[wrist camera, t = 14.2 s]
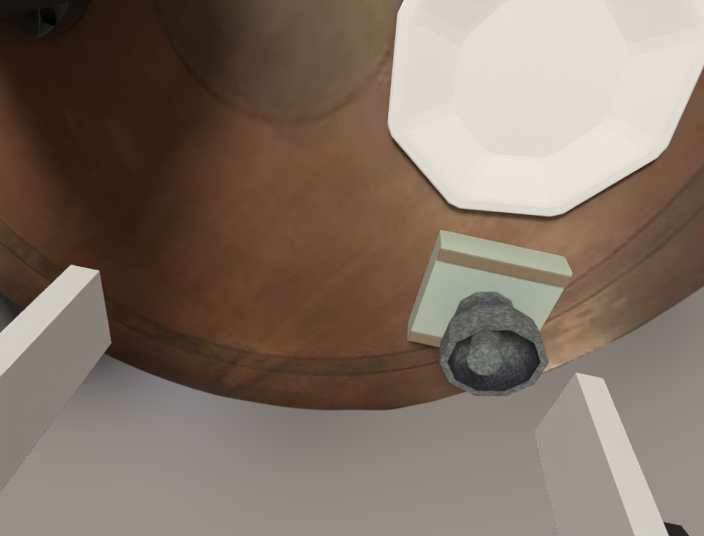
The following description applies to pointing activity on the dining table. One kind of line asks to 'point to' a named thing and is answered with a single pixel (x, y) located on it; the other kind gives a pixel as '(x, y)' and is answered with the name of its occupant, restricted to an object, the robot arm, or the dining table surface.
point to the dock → (484, 281)
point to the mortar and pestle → (491, 347)
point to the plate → (540, 95)
